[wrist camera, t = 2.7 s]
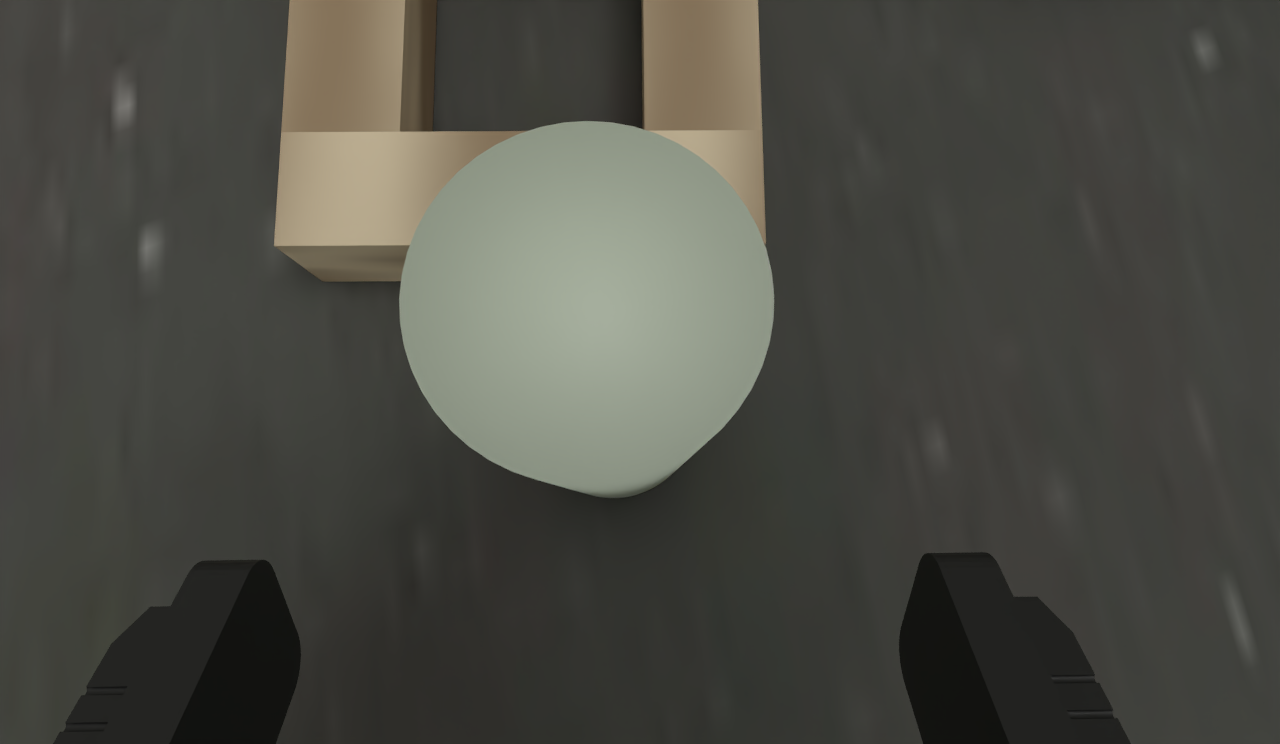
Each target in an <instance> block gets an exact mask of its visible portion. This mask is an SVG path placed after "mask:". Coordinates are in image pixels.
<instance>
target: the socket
mask: <svg viewBox="0 0 1280 744" xmlns="http://www.w3.org/2000/svg"><path fill="white" fill-rule="evenodd" d="M641 4H642V114H643V129H644V130H647V131H650V132H653V133H656V134H659V135H661V136H663V137H665V138H667V139H670V140H672V141H674V142H676V143H678V144H680V145H682V146H683V147H685V148H686V149H688V150H690V151H691V152H693V153H694V154H696V155H698V156H699V157H700V158H701V159H703V160H704V161H705V162H706V163H708V164H709V165H710V166H711V167H713V168H714V169H715V170H716V171H717V172H718V173H719V174H720V175H721V176H722V177H723V178H724V179H725V180H726V181H727V182H728V183H729V184H730V185H731V186H732V188H733V189H734V190H735V192H736V193H737V194H738V196H739V197H740V198H741V200H742V201H743V203H744V204H745V205H746V207H747V208H748V210H749V212H750V214H751V216H752V218H753V219H754V221H755V223H756V225H757V227H758V229H759V232H760V234H761V237H762V240H763V242H764V245H765V244H766V231H765V201H764V171H763V141H762V111H761V81H760V51H759V21H758V0H641ZM436 17H437V0H290V5H289V21H288V36H287V52H286V68H285V83H284V99H283V115H282V130H281V146H280V162H279V178H278V193H277V209H276V225H275V240H274V246H275V247H276V248H278V249H279V250H280V251H282V252H283V253H284V254H286V255H287V256H289V257H290V258H291V259H293V260H294V261H295V262H297V263H298V264H300V265H301V266H302V267H304V268H305V269H306V270H308V271H309V272H310V273H312V274H313V275H315V276H316V277H317V278H319V279H320V280H321V281H323V282H356V281H401V277H402V272H403V267H404V263H405V259H406V255H407V251H408V249H409V246H410V243H411V241H412V238H413V236H414V233H415V231H416V228H417V227H418V225H419V223H420V221H421V219H422V217H423V216H424V214H425V212H426V210H427V208H428V207H429V206H430V204H431V203H432V202H433V200H434V199H435V197H436V196H437V195H438V193H439V192H440V191H441V189H442V188H443V187H444V186H445V185H446V184H447V183H448V182H449V181H450V180H451V179H452V178H453V177H454V175H455V174H456V173H457V172H458V171H460V170H461V169H462V168H463V167H465V166H466V165H467V164H468V163H469V162H471V161H472V160H473V159H474V158H476V157H477V156H479V155H480V154H482V153H483V152H485V151H486V150H488V149H490V148H491V147H493V146H494V145H496V144H498V143H500V142H502V141H505V140H507V139H509V138H511V137H513V136H515V135H517V134H520V133H523V132H527V131H436V132H433V107H434V77H435V47H436Z"/></svg>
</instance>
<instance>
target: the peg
mask: <svg viewBox="0 0 1280 744" xmlns="http://www.w3.org/2000/svg"><path fill="white" fill-rule="evenodd" d="M399 306H400V325H401V331H402V337H403V343H404V348H405V351H406V354H407V358H408V361H409V364H410V367H411V370H412V372H413V374H414V376H415V379H416V381H417V383H418V385H419V387H420V389H421V391H422V393H423V394H424V396H425V397H426V399H427V401H428V402H429V404H430V405H431V407H432V408H433V410H434V411H435V413H436V414H437V415H438V416H439V417H440V418H441V420H442V421H443V422H444V423H445V424H446V425H447V427H448V428H449V429H450V430H451V431H452V432H453V433H454V434H455V435H457V436H458V437H459V438H460V439H461V440H462V441H463V442H464V443H466V444H467V445H468V446H469V447H470V448H472V449H473V450H475V451H476V452H478V453H479V454H481V455H482V456H484V457H485V458H487V459H488V460H490V461H492V462H494V463H496V464H498V465H500V466H502V467H504V468H506V469H508V470H510V471H512V472H515V473H518V474H521V475H524V476H527V477H530V478H533V479H536V480H539V481H542V482H546V483H549V484H553V485H556V486H560V487H564V488H567V489H571V490H574V491H578V492H581V493H585V494H588V495H592V496H597V497H602V498H625V497H630V496H634V495H638V494H641V493H643V492H646V491H648V490H650V489H652V488H654V487H656V486H658V485H659V484H660V483H662V482H663V481H665V480H666V479H667V478H668V477H669V476H670V475H671V474H673V473H674V472H675V471H676V470H677V469H678V468H679V467H680V466H681V465H683V464H684V463H685V462H686V461H687V460H688V459H689V458H690V457H691V456H692V455H694V454H695V453H696V452H697V451H698V450H699V449H700V448H701V447H702V446H704V445H705V444H706V443H707V442H708V441H709V440H710V439H711V438H712V437H713V436H715V435H716V434H717V433H718V432H719V431H720V430H721V429H722V428H723V427H724V426H725V425H726V424H727V422H728V421H729V420H730V419H731V418H732V417H733V415H734V414H735V413H736V412H737V411H738V409H739V408H740V406H741V405H742V403H743V402H744V400H745V399H746V397H747V395H748V394H749V392H750V391H751V389H752V387H753V385H754V383H755V381H756V379H757V377H758V374H759V372H760V370H761V368H762V365H763V362H764V359H765V356H766V353H767V349H768V346H769V343H770V337H771V331H772V325H773V316H774V289H773V280H772V271H771V267H770V263H769V259H768V255H767V250H766V247H765V245H764V242H763V240H762V237H761V234H760V232H759V229H758V227H757V225H756V223H755V221H754V219H753V218H752V216H751V214H750V212H749V210H748V208H747V207H746V205H745V204H744V203H743V201H742V200H741V198H740V197H739V196H738V194H737V193H736V192H735V190H734V189H733V188H732V186H731V185H730V184H729V183H728V182H727V181H726V180H725V179H724V178H723V177H722V176H721V175H720V174H719V173H718V172H717V171H716V170H715V169H714V168H713V167H711V166H710V165H709V164H708V163H706V162H705V161H704V160H703V159H701V158H700V157H699V156H698V155H696V154H694V153H693V152H691V151H690V150H688V149H686V148H685V147H683V146H682V145H680V144H678V143H676V142H674V141H672V140H670V139H667V138H665V137H663V136H661V135H659V134H656V133H653V132H650V131H647V130H644V129H640V128H637V127H634V126H628V125H623V124H617V123H612V122H596V121H580V122H565V123H559V124H554V125H548V126H543V127H539V128H536V129H533V130H530V131H527V132H523V133H520V134H517V135H515V136H513V137H511V138H509V139H507V140H505V141H502V142H500V143H498V144H496V145H494V146H493V147H491V148H490V149H488V150H486V151H485V152H483V153H482V154H480V155H479V156H477V157H476V158H474V159H473V160H472V161H471V162H469V163H468V164H467V165H466V166H465V167H463V168H462V169H461V170H460V171H458V172H457V173H456V174H455V175H454V177H453V178H452V179H451V180H450V181H449V182H448V183H447V184H446V185H445V186H444V187H443V188H442V189H441V191H440V192H439V193H438V195H437V196H436V197H435V199H434V200H433V202H432V203H431V204H430V206H429V207H428V208H427V210H426V212H425V214H424V216H423V217H422V219H421V221H420V223H419V225H418V227H417V228H416V231H415V233H414V236H413V238H412V241H411V243H410V246H409V249H408V251H407V255H406V259H405V263H404V267H403V272H402V277H401V287H400V296H399Z"/></svg>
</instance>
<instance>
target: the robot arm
mask: <svg viewBox="0 0 1280 744" xmlns="http://www.w3.org/2000/svg"><path fill="white" fill-rule="evenodd" d="M899 652H900V663H901V669H902V674H903V678H904V682H905V685H906V689H907V692H908V695H909V698H910V702H911V705H912V708H913V711H914V715H915V718H916V721H917V724H918V728H919V731H920V734H921V738H922V741H923V744H1131V743H1130V741H1129V740H1128V738H1127V736H1126V734H1125V732H1124V730H1123V728H1122V726H1121V724H1120V722H1119V720H1118V718H1114V717H1113V713H1112V710H1113V709H1112V707H1111V705H1110V703H1109V701H1108V699H1107V697H1106V695H1105V693H1104V691H1103V690H1102V688H1101V686H1100V684H1099V683H1096V682H1095V679H1094V675H1095V674H1094V672H1093V670H1092V668H1091V666H1090V664H1089V663H1088V661H1087V659H1086V657H1085V655H1084V653H1083V651H1082V649H1081V647H1080V645H1079V643H1078V641H1077V639H1076V638H1075V636H1074V634H1073V632H1072V631H1071V630H1070V629H1069V628H1068V627H1067V626H1066V625H1065V624H1064V623H1063V622H1062V621H1061V620H1060V619H1059V618H1058V617H1057V616H1056V615H1055V614H1054V613H1053V612H1052V611H1051V610H1050V609H1049V608H1048V607H1047V606H1046V605H1045V604H1044V603H1043V602H1042V601H1041V600H1040V599H1039V598H1038V597H1013V595H1012V593H1011V591H1010V589H1009V586H1008V584H1007V582H1006V580H1005V578H1004V576H1003V574H1002V572H1001V569H1000V567H999V565H998V564H997V562H996V560H995V559H994V558H993V557H992V556H991V555H990V554H988V553H927V554H924V555H923V556H922V558H921V560H920V563H919V566H918V570H917V573H916V577H915V580H914V584H913V587H912V591H911V594H910V598H909V601H908V605H907V608H906V612H905V615H904V619H903V622H902V626H901V630H900V639H899ZM300 658H301V649H300V641H299V636H298V633H297V630H296V628H295V625H294V622H293V620H292V617H291V614H290V612H289V609H288V607H287V604H286V601H285V599H284V596H283V593H282V591H281V588H280V585H279V583H278V580H277V578H276V575H275V572H274V570H273V568H272V566H271V564H270V563H269V562H267V561H266V560H221V561H201V562H199V563H197V564H196V565H195V566H194V567H193V568H192V569H191V570H190V572H189V574H188V575H187V577H186V579H185V581H184V583H183V584H182V586H181V588H180V590H179V592H178V594H177V596H176V597H175V599H174V601H173V603H172V605H171V606H167V607H150V608H149V609H148V610H147V611H145V612H144V613H143V614H142V615H141V616H140V617H139V618H138V619H137V620H136V621H135V622H134V623H133V624H132V625H131V626H130V627H129V628H128V629H127V630H126V631H124V632H123V633H122V634H121V635H120V636H119V637H118V638H117V639H116V640H115V641H114V642H113V643H112V644H111V645H110V647H109V649H108V651H107V652H106V654H105V656H104V657H103V659H102V661H101V663H100V664H99V666H98V668H97V669H96V671H95V673H94V675H93V676H92V678H91V680H90V681H89V683H88V685H87V692H86V694H85V695H82V696H81V697H80V699H79V700H78V702H77V704H76V705H75V707H74V709H73V711H72V712H71V714H70V716H69V717H68V719H67V721H66V729H65V731H64V732H60V733H59V735H58V736H57V738H56V740H55V742H54V743H53V744H276V741H277V738H278V735H279V733H280V730H281V727H282V724H283V721H284V719H285V716H286V713H287V710H288V707H289V705H290V702H291V699H292V696H293V693H294V690H295V687H296V684H297V680H298V676H299V670H300Z"/></svg>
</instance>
